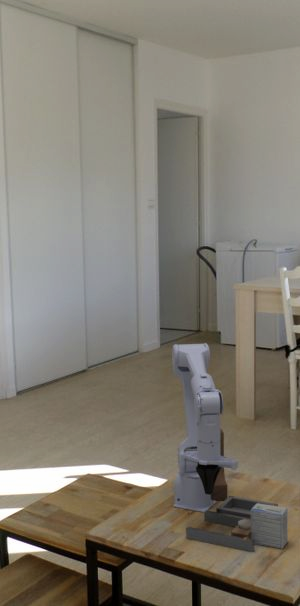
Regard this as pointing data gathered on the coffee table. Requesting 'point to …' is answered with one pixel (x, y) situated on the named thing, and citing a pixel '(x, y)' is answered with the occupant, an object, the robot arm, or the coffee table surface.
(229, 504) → the tray
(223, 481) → the wooden block
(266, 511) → the medicine box
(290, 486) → the coffee table surface
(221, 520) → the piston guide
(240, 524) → the brown block grey dome
